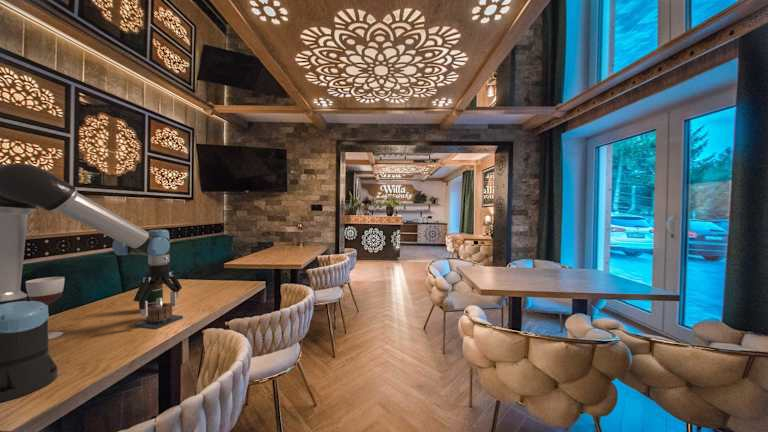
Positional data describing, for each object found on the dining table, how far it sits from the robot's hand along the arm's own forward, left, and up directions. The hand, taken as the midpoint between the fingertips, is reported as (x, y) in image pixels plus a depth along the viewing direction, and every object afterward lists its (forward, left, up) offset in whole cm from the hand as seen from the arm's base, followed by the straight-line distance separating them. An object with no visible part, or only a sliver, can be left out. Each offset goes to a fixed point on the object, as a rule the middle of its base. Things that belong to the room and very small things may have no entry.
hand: (159, 310), depth 128 cm
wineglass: (-21, +30, -5) cm, 37 cm away
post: (0, 0, -5) cm, 5 cm away
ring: (0, 0, -3) cm, 3 cm away
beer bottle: (+12, +18, -5) cm, 22 cm away
